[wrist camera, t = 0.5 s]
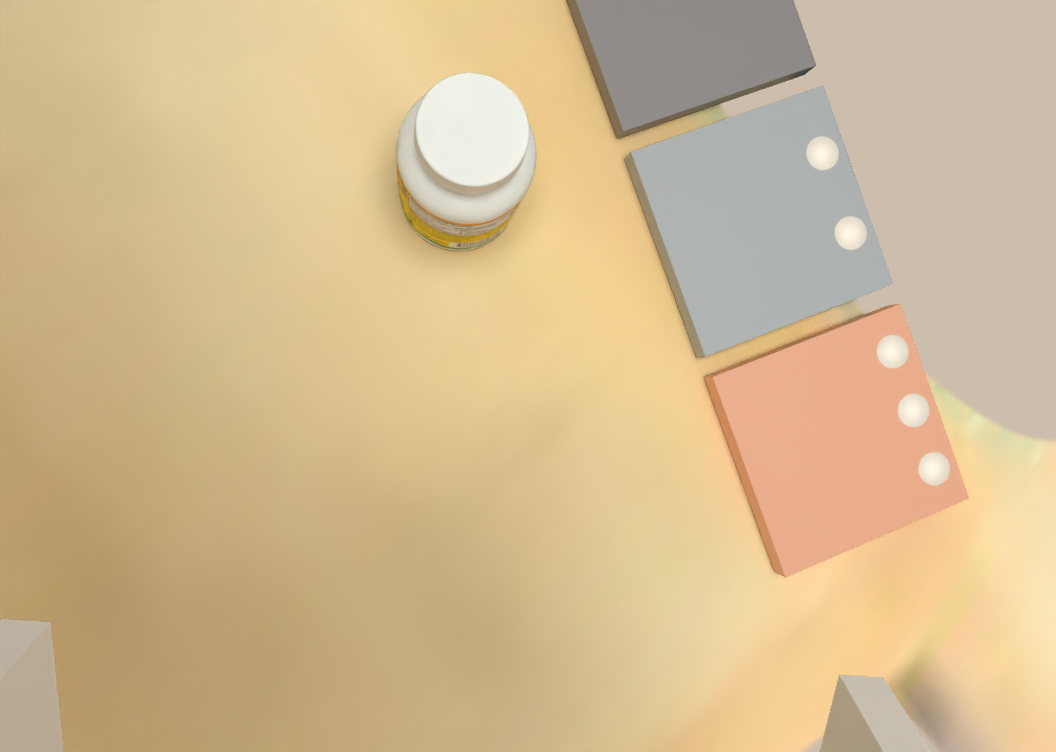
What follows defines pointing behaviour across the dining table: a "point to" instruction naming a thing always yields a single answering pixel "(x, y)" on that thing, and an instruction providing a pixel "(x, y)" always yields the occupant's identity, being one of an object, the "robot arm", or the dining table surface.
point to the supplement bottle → (464, 161)
